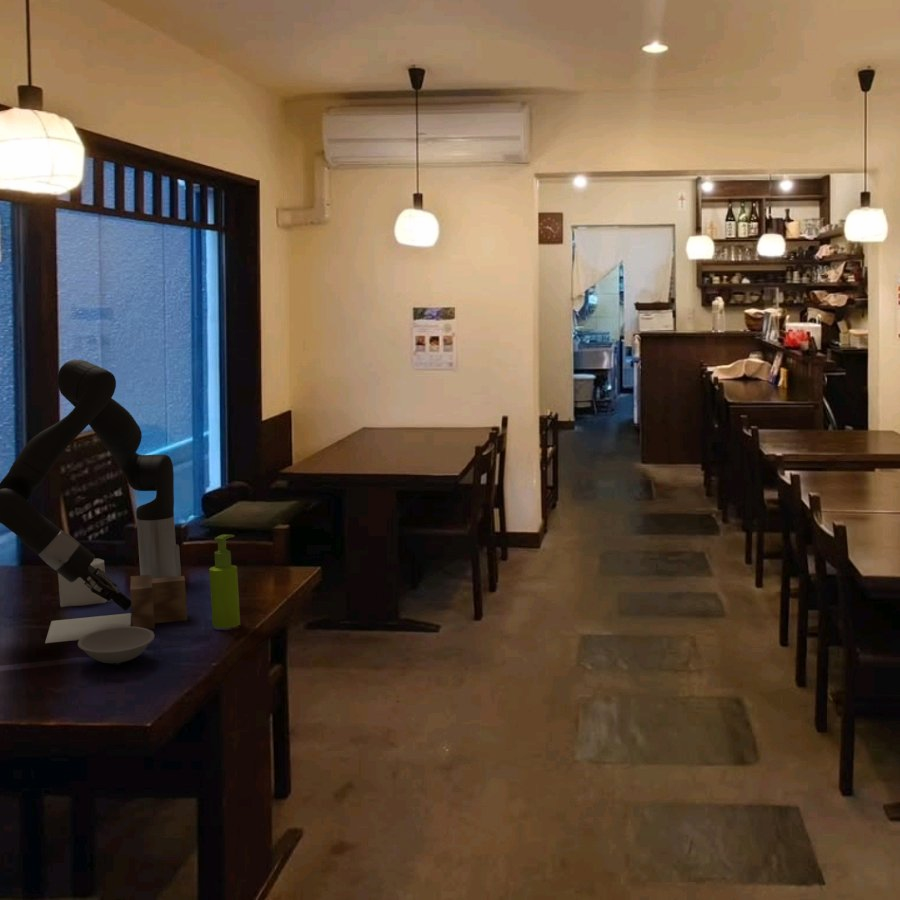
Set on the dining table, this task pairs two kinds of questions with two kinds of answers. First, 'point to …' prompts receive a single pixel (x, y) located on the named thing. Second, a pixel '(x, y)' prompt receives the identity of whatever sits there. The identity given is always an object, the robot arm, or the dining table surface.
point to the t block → (157, 600)
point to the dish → (116, 643)
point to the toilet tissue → (79, 590)
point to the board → (84, 626)
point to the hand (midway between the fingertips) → (129, 606)
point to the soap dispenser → (224, 587)
